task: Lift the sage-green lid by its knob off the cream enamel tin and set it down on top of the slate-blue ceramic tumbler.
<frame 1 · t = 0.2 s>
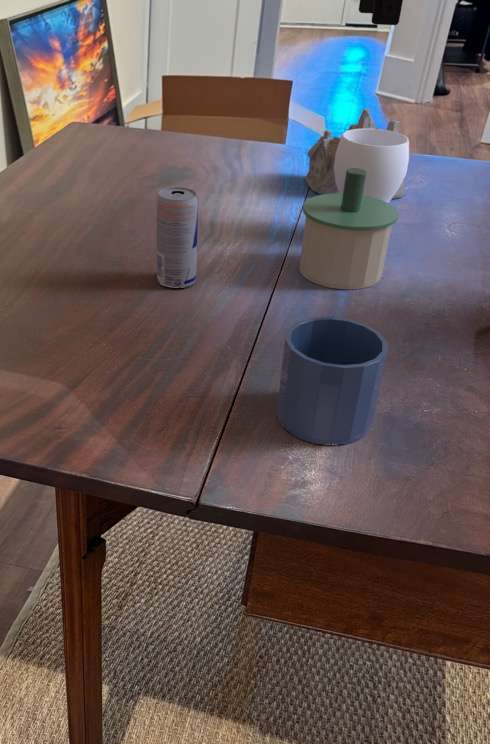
hand: (377, 18, 89), 30 cm above the table, tool pointing down, fingers open, 9 cm apart
tumbler: (323, 417, 73), on the table
tin lid: (349, 212, 96), point 8 cm above the table, touching tin
tin: (340, 271, 102), on the table
cup: (357, 239, 112), on the table
ceramic cottage: (353, 189, 130), on the table
energy drink: (176, 282, 98), on the table
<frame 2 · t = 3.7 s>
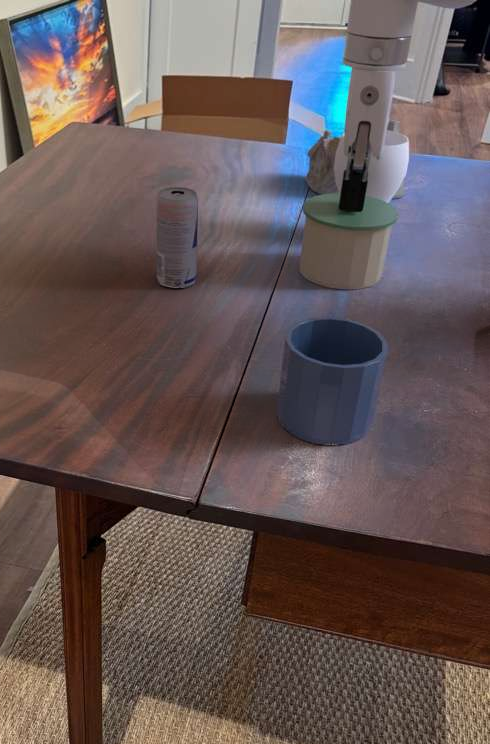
hand: (351, 204, 96), 10 cm above the table, tool pointing down, fingers closed on tin lid, 2 cm apart
tin lid: (349, 212, 96), point 9 cm above the table, touching gripper, tin
everything else where it was.
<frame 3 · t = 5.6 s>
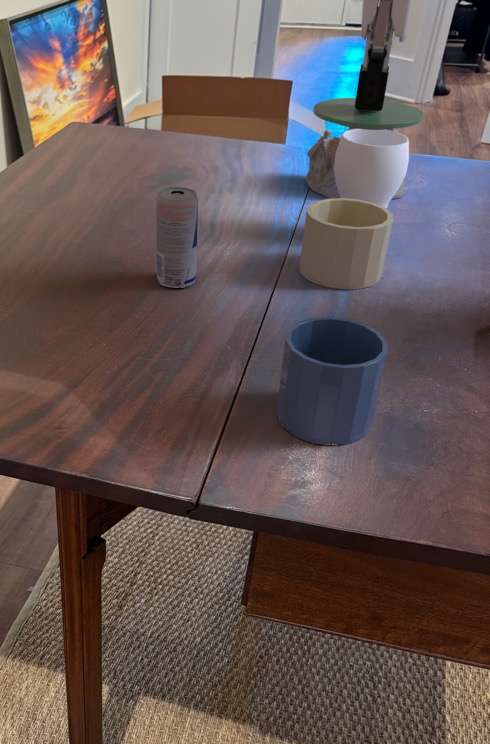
hand: (368, 104, 84), 23 cm above the table, tool pointing down, fingers closed on tin lid, 2 cm apart
tin lid: (367, 114, 84), point 22 cm above the table, touching gripper
everything else where it was.
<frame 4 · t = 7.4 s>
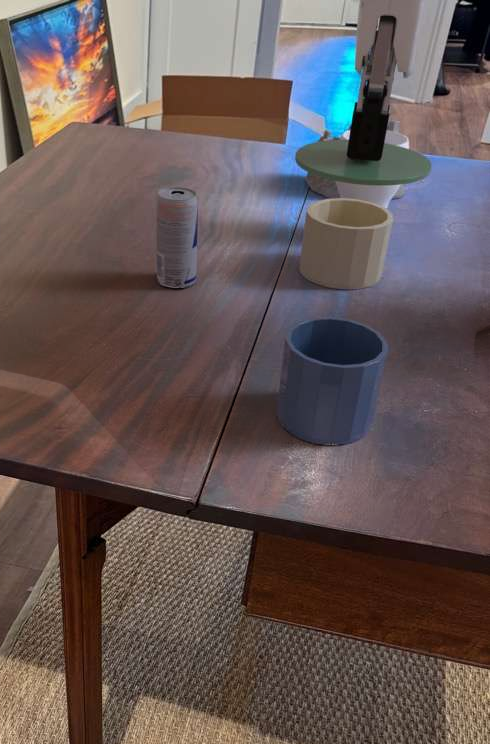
hand: (364, 151, 67), 23 cm above the table, tool pointing down, fingers closed on tin lid, 2 cm apart
tin lid: (361, 163, 68), point 22 cm above the table, touching gripper
everything else where it was.
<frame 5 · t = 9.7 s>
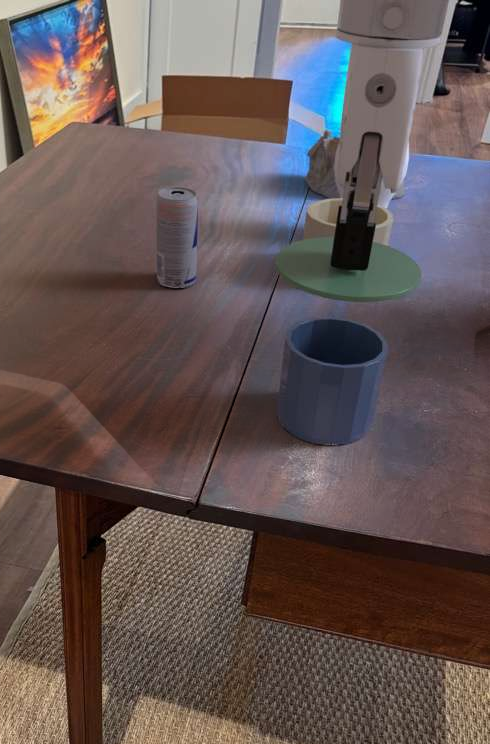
hand: (349, 258, 62), 17 cm above the table, tool pointing down, fingers closed on tin lid, 2 cm apart
tin lid: (346, 269, 63), point 16 cm above the table, touching gripper
everything else where it was.
when the fingers open (11 cm above the table, at t = 11.4 s): tin lid stays where it is, resting on tumbler.
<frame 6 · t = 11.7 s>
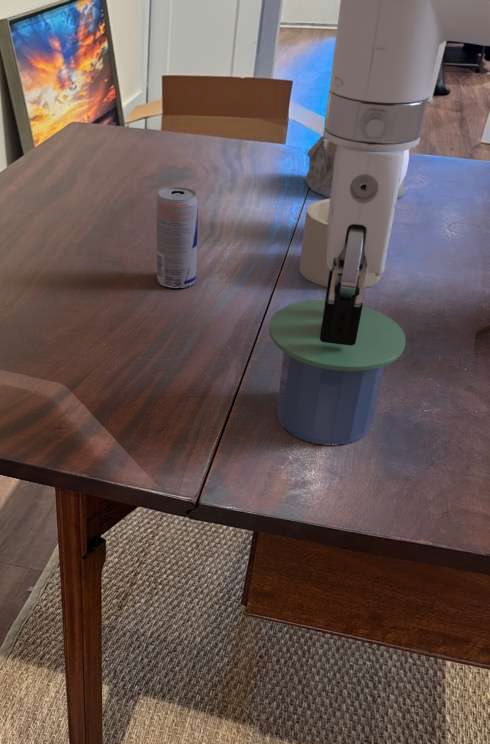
hand: (339, 323, 67), 11 cm above the table, tool pointing down, fingers open, 5 cm apart
tin lid: (336, 335, 67), point 10 cm above the table, touching tumbler
everything else where it was.
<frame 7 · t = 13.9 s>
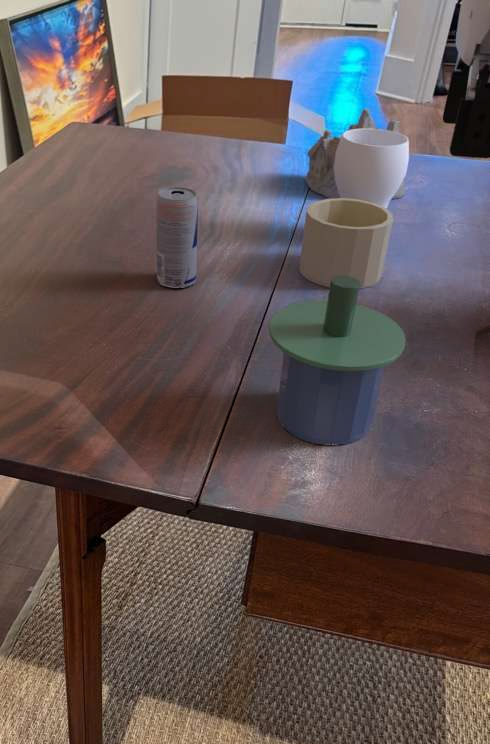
hand: (465, 138, 59), 27 cm above the table, tool pointing down, fingers open, 9 cm apart
nothing on the table moved.
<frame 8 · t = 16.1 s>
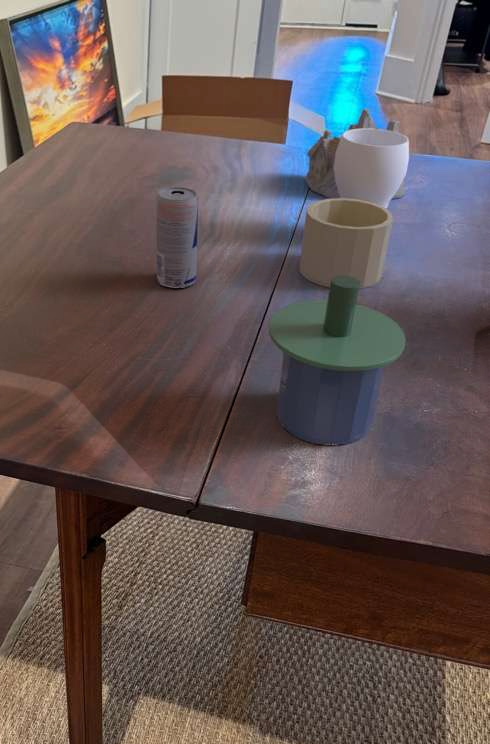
nothing on the table moved.
at the end: tin lid 0.1 cm off-centre on the tumbler, point 9.6 cm above the tumbler's base; tin lid tilted 1° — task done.
